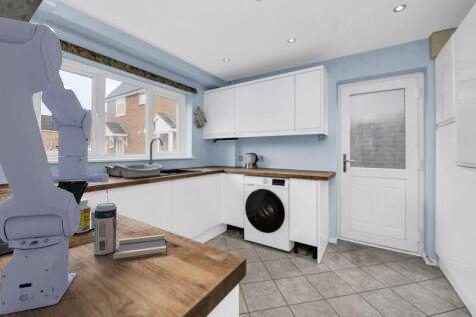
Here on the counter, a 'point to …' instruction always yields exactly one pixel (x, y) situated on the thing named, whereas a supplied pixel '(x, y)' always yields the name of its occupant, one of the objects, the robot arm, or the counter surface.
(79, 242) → the shard
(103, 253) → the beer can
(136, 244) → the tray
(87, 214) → the supplement bottle
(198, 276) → the counter surface
